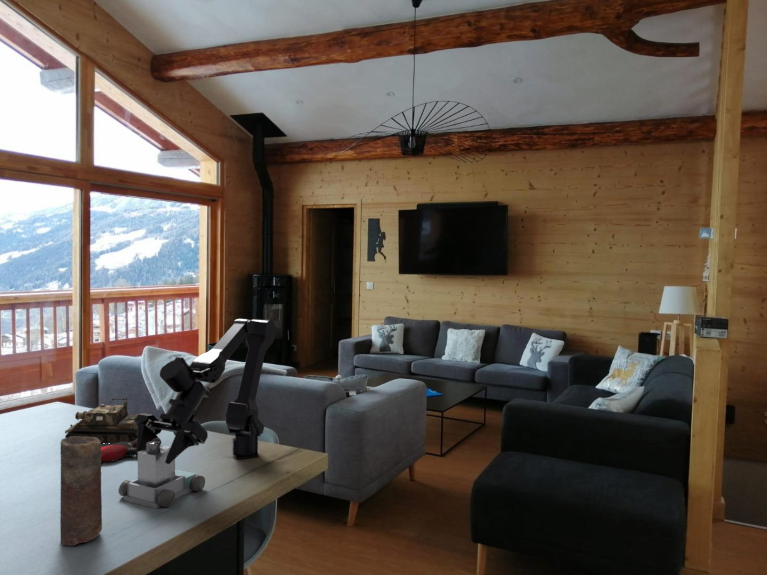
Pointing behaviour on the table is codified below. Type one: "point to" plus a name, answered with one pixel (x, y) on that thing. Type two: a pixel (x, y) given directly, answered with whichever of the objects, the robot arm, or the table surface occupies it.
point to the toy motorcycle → (119, 450)
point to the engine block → (155, 465)
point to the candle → (80, 490)
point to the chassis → (161, 490)
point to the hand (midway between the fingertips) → (151, 460)
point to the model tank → (106, 424)
